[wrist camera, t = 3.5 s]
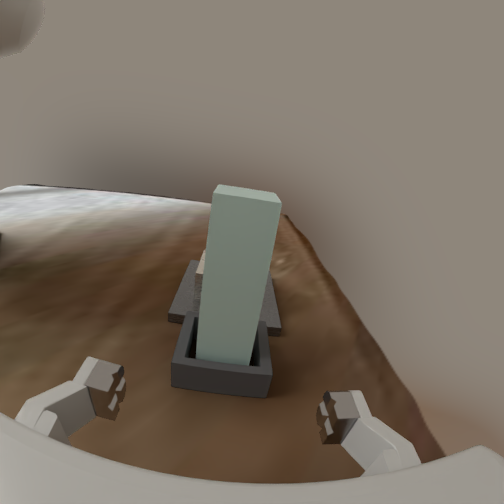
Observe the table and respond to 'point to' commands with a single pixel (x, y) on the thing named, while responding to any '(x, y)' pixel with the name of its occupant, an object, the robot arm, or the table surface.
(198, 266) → the port panel
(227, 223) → the plug
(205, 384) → the holster
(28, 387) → the table surface
